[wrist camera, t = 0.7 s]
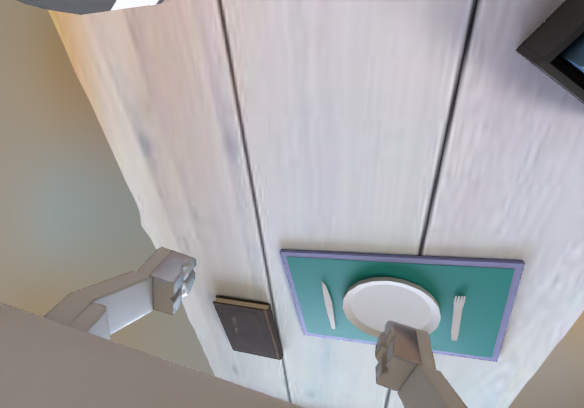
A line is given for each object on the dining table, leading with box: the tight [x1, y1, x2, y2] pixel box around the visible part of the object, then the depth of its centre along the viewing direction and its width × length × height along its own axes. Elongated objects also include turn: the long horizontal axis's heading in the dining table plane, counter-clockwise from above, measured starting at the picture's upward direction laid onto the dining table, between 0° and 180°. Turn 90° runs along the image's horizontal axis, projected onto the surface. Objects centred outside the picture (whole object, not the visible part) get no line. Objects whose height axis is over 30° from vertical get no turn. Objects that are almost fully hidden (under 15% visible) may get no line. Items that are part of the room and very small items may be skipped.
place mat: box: [280, 250, 524, 362], centre depth 70 cm, size 45×30×2 cm
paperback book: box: [213, 296, 283, 360], centre depth 90 cm, size 16×23×2 cm
